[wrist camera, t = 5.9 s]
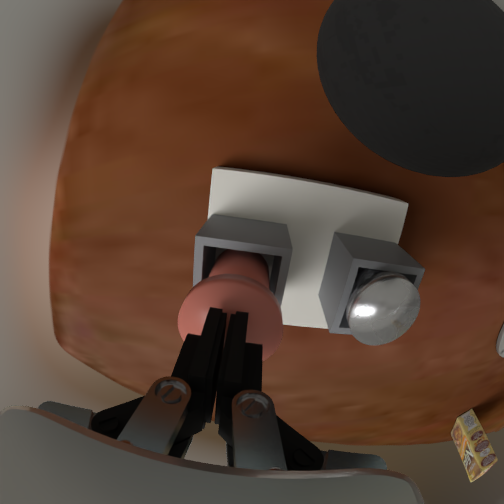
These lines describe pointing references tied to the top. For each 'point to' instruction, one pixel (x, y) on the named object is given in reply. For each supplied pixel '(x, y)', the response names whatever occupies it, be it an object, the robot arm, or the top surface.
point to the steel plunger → (381, 306)
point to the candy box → (473, 445)
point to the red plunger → (236, 299)
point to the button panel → (304, 239)
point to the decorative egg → (418, 80)
